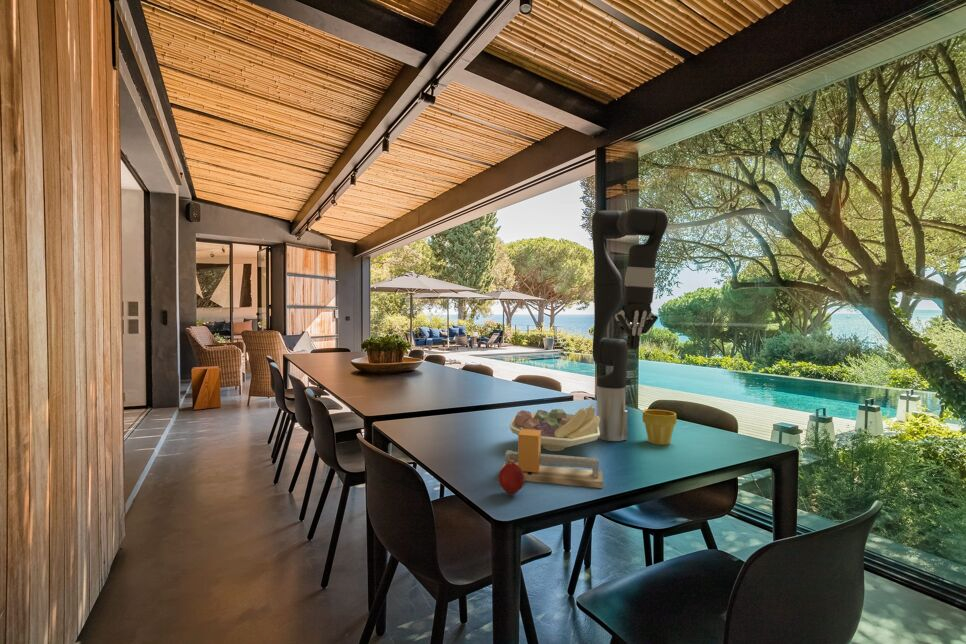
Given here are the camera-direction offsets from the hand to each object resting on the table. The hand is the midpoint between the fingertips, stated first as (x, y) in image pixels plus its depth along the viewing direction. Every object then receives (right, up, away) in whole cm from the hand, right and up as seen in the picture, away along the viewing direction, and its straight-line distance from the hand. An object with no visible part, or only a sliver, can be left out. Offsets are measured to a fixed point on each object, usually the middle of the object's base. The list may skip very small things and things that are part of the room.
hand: (632, 348), depth 125 cm
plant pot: (+17, -32, +25) cm, 44 cm away
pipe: (-23, -30, -9) cm, 39 cm away
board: (-23, -32, -9) cm, 41 cm away
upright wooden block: (-29, -30, -8) cm, 42 cm away
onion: (-34, -32, -20) cm, 51 cm away
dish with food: (-19, -32, +17) cm, 40 cm away
